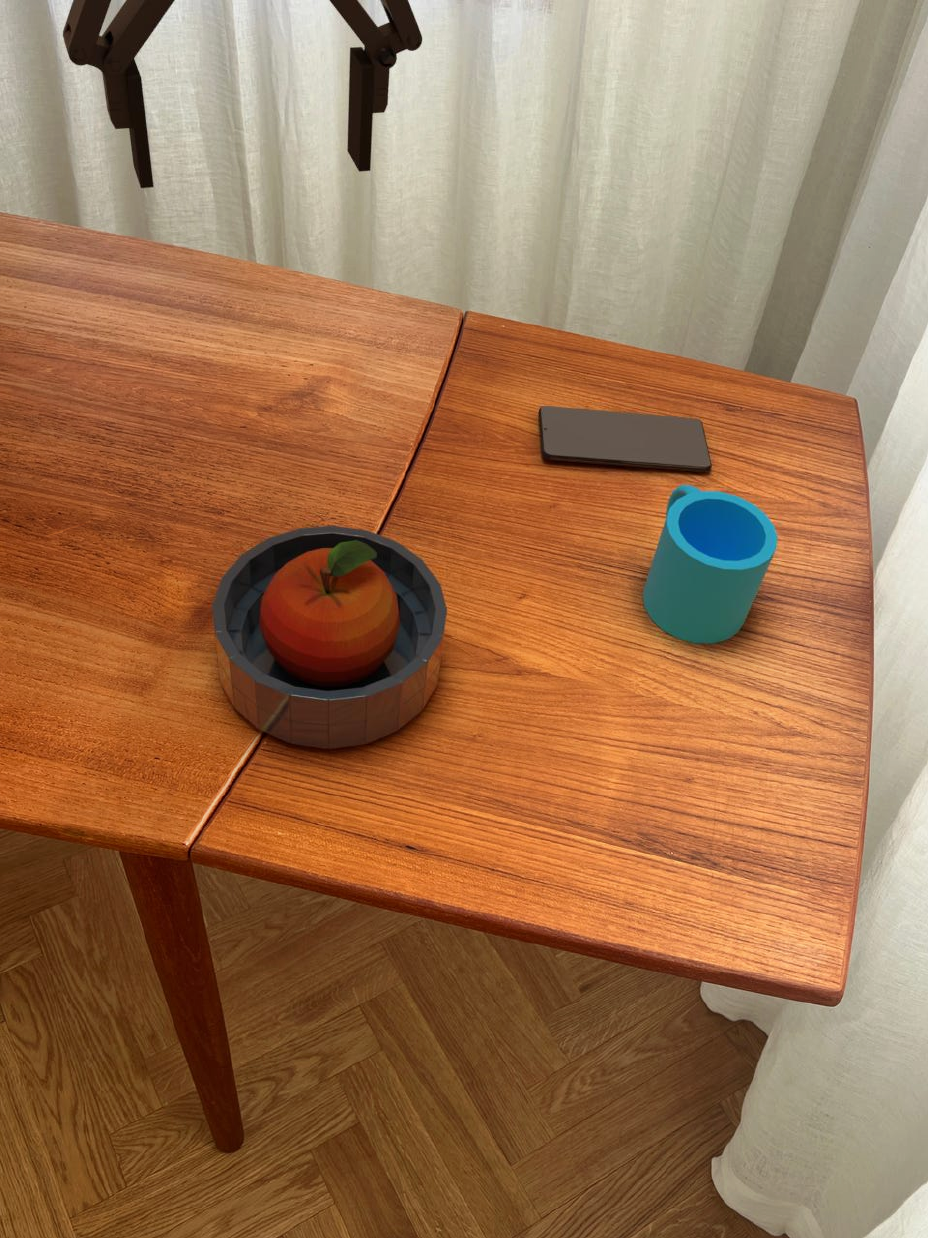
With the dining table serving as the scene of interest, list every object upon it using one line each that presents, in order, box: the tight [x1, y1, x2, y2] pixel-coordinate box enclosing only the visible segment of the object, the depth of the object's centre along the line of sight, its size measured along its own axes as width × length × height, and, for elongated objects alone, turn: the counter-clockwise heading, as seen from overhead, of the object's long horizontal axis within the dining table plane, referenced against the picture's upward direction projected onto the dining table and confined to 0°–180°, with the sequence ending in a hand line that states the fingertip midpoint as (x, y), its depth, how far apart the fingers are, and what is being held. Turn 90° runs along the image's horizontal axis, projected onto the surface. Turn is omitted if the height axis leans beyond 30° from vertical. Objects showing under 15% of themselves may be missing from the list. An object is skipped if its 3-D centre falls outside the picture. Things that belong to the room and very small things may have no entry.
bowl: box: [211, 525, 448, 750], centre depth 77 cm, size 16×16×6 cm
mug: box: [641, 484, 779, 645], centre depth 85 cm, size 12×8×8 cm
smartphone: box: [537, 405, 713, 473], centre depth 98 cm, size 7×1×15 cm
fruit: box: [259, 540, 400, 687], centre depth 75 cm, size 10×10×10 cm
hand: (254, 169), depth 70 cm, fingers open, 13 cm apart
